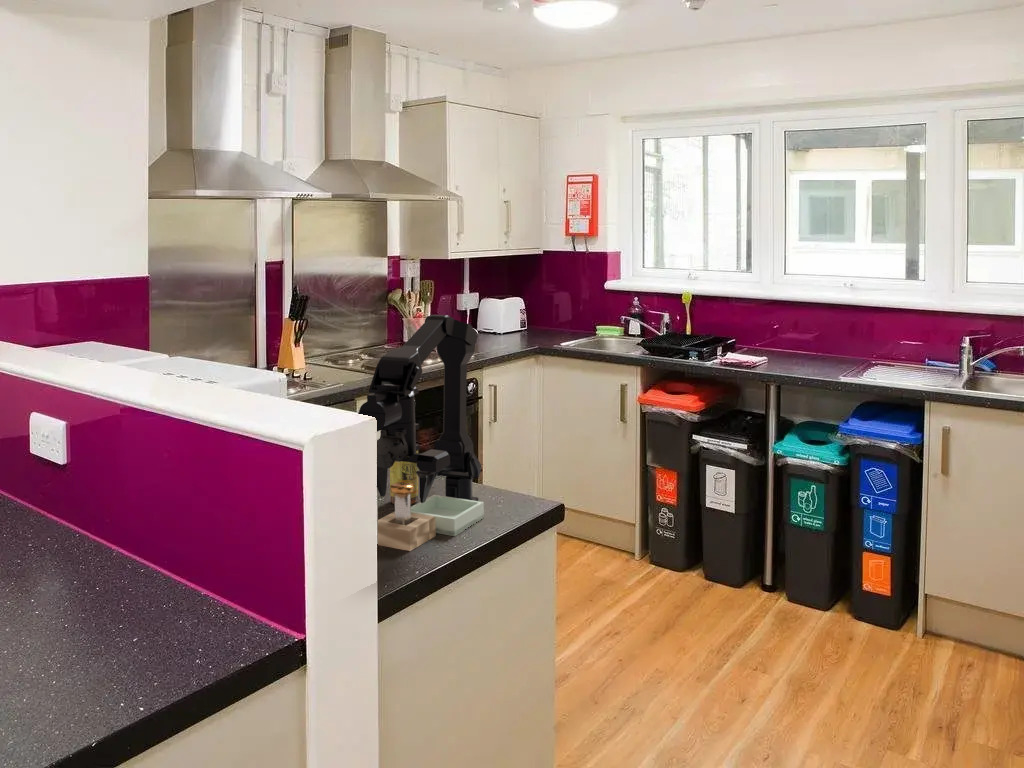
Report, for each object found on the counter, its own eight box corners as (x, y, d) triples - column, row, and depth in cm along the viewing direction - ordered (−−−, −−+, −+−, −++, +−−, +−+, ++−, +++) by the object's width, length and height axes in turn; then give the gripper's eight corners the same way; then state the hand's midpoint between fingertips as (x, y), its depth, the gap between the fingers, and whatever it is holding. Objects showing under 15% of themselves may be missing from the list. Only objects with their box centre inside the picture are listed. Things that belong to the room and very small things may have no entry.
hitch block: (397, 529, 179) (396, 510, 178) (435, 536, 175) (435, 516, 174) (371, 543, 171) (370, 523, 170) (410, 551, 167) (409, 530, 166)
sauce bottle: (404, 508, 192) (402, 418, 188) (384, 503, 196) (381, 415, 192) (425, 501, 197) (423, 413, 194) (405, 496, 201) (402, 410, 197)
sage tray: (434, 510, 191) (434, 494, 190) (484, 518, 185) (483, 502, 185) (403, 527, 180) (403, 510, 179) (454, 536, 175) (454, 519, 174)
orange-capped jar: (400, 534, 176) (398, 481, 174) (419, 538, 174) (417, 484, 172) (387, 541, 172) (385, 487, 170) (407, 545, 170) (405, 490, 168)
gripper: (334, 424, 166) (338, 504, 169) (418, 434, 158) (421, 518, 160) (369, 413, 176) (372, 489, 179) (450, 421, 167) (452, 501, 170)
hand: (402, 499), depth 172 cm, fingers open, 9 cm apart
